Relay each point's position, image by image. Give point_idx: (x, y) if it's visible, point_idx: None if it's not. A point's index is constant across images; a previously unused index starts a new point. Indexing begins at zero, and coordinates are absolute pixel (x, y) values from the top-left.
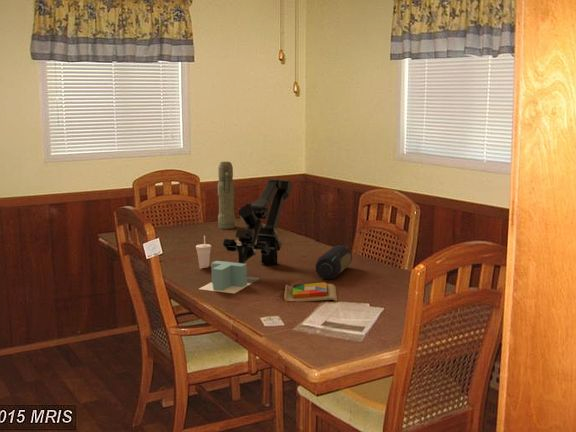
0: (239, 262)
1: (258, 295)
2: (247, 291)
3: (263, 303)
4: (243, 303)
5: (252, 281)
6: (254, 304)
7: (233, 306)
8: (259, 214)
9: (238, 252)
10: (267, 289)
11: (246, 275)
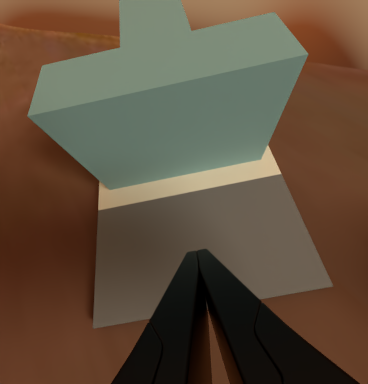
0: (204, 255)
1: (37, 139)
2: None
3: (6, 102)
4: None
5: (106, 241)
6: (27, 87)
7: (71, 58)
8: None
9: (327, 363)
10: (22, 205)
11: (85, 163)
